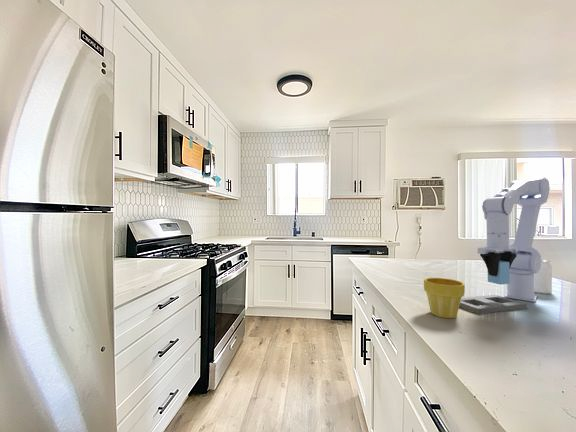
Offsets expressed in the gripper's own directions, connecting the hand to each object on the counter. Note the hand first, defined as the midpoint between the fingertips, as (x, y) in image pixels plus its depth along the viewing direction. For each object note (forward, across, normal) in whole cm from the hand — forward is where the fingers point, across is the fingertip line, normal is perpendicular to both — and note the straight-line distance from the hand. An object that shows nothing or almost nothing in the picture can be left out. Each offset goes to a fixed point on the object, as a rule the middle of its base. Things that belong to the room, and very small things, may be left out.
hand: (498, 275), depth 86 cm
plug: (+2, 0, 0) cm, 2 cm away
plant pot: (+10, -24, -2) cm, 26 cm away
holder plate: (+10, -5, 0) cm, 11 cm away
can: (+10, +30, +8) cm, 33 cm away
